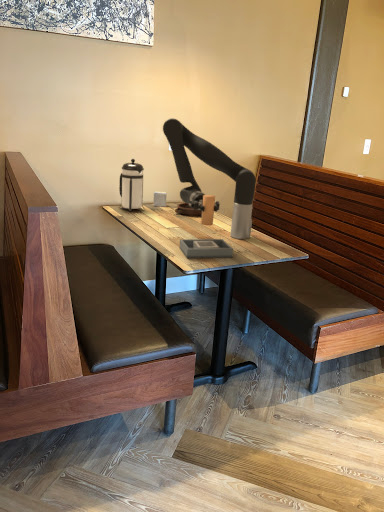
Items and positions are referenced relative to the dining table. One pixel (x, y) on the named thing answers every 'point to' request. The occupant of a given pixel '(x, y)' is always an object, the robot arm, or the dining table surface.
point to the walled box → (205, 248)
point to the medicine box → (160, 199)
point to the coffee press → (131, 185)
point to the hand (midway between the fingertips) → (210, 209)
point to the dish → (187, 210)
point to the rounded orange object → (208, 210)
